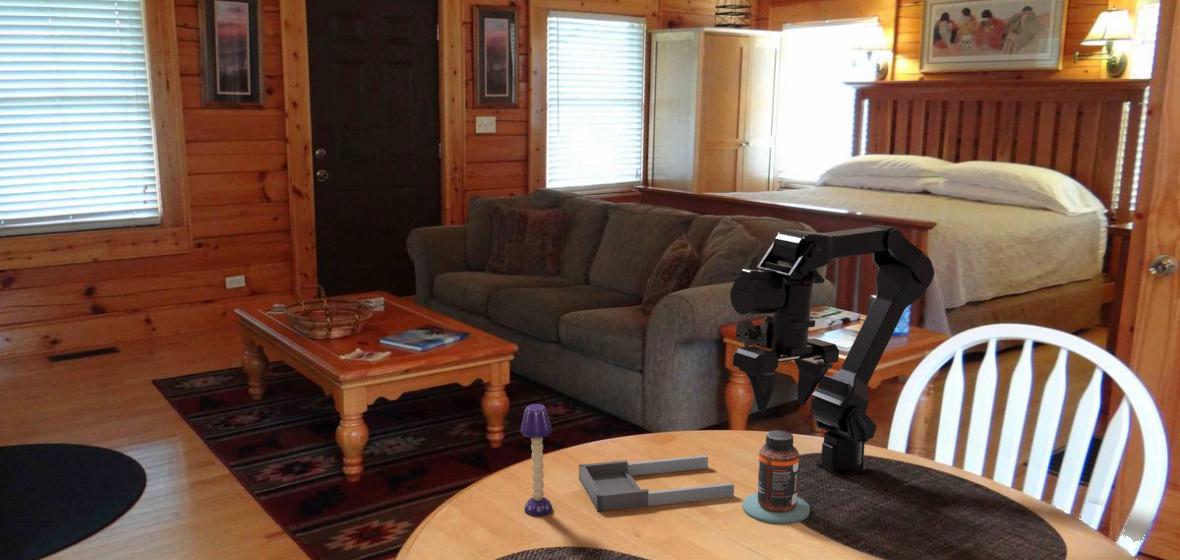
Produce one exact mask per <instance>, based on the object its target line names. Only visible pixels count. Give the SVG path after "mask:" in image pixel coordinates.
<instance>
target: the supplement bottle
mask: <svg viewBox="0 0 1180 560" xmlns="http://www.w3.org/2000/svg"><path fill="white" fill-rule="evenodd" d="M799 466H800V453H799V450H798V448H797V447H795V446H794V435H793V434H792V433H791V432H789V431H785V430H770V431H767V433H766V435H765V444H764V445H762V446H761V447H760V449H759V452H758V472H757V473H758V475H757V493H758V503H759V505H760V506H761V507H763V508H764V509H767V510H770V511H773V512H786V511H790V510H792V509H794V508H795V507H796V506H797V497H799V496H798V495H799V494H798V493H799V492H798V491H799V489H798V488H799Z"/></svg>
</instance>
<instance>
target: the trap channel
mask: <svg viewBox="0 0 1180 560" xmlns="http://www.w3.org/2000/svg"><path fill="white" fill-rule="evenodd" d="M578 468H579V469H578V472H579V473H578V479H579V481H580V484H581V485H582V487H583V488H584V490H585V492H586V494H587V497H589V499H590V501H591V503H592V504H593V506H594V508H595V510H596V512H599V513H600V512H605V511H615V510H617V511H618V510H625V509H626V510H627V509H634V508H641V507H651V506H652V507H653V506H660V505H669V504H680V503H689V502H697V501H709V500H714V499H715V500H716V499H725V498H734V496H735V484H734V483H733V482H726V483H719V484H718V483H717V484H707V485H699V486H697V485H696V486H690V487H689V486H688V487H687V486H686V487H679V488H672V489H671V488H670V489H669V488H668V489H660V490H651V491H649V489H648V488H641V487H640V486H639V485H638V483H637V482H636V481H635V479H634V476H642V475H644V476H645V475H653V474H654V475H655V474H663V473H664V474H665V473H673V472H675V473H676V472H681V471H693V470H704V469H708V468H709V456H708V455H707V454H704V455H696V456H694V455H693V456H687V457H685V456H684V457H674V458H664V459H654V460H645V461H644V460H643V461H634V462H628V461H627V459H626V460H625V459H624V460H614V461H613V460H612V461H606V462H605V461H604V462H603V461H602V462H595V463H594V462H593V463H583V464H582V463H581V464H579V465H578Z"/></svg>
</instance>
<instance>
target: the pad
mask: <svg viewBox="0 0 1180 560" xmlns="http://www.w3.org/2000/svg"><path fill="white" fill-rule="evenodd" d="M742 509H743V511H744V513H745V514H746V515H747V516H748V517H750V518H752V519H753V520H756V521H759V522H763V523H768V524H773V525H790V524H796V523H800V522H802V521H804V520H806V519H807V518H808V517H809V516H810V512H811V508H810V505H809V503H808V502H807V501H806V500H805V499H803V498H802V497H799V496H798V497H797V506H796V507H795V508H794V509H792V510H790V511H786V512H773V511H770V510H767V509H764V508H763V507H761V506H760V505H759V503H758V492H755V493H752V494H749V495H747V496H746V497H744V499H743V501H742Z"/></svg>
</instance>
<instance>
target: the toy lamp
mask: <svg viewBox="0 0 1180 560" xmlns="http://www.w3.org/2000/svg"><path fill="white" fill-rule="evenodd" d="M552 430H553V428H552V424H551V421H550V417H549V414H548V411H547V408H546V406H545V405H544V404H540V403H532V404H529V405H528V406H526V407H525V409H524V413H523V417H522V422H521V426H520V434H521V435H522V436H524V437H527V438H528V439H529V438H530V439H531V445H530V447H531V448H530V449H531V451H532V453H531V460H532V463H531V470H532V472H531V479H532V482H531V488H532V492H531V496H532V497H531V498H529V499H528V500H527V501H526V503H525V505H524V512H525V513H526V514H527V515H531V516H534V517H541V516H547V515H549V514H551V513H552V512H553V505H552V502H551V501H550V499H548V498H547V497H544V495H545V494H544V490H543V489H544V487H545V486H544V485H545V484H544V477H545V476H544V471H543V470H544V465H545V464H544V462H543V460H544V453H543V450H544V445H543V444H544V443H543V440H544V437H545V438H546V437H549V435H551V433H552Z"/></svg>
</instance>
